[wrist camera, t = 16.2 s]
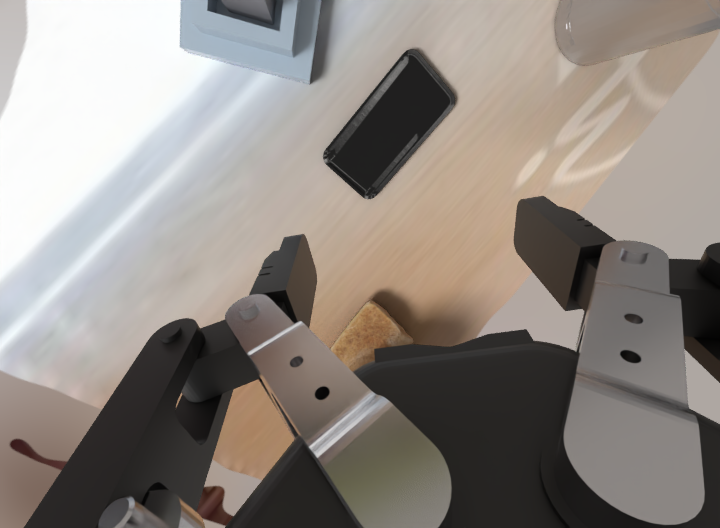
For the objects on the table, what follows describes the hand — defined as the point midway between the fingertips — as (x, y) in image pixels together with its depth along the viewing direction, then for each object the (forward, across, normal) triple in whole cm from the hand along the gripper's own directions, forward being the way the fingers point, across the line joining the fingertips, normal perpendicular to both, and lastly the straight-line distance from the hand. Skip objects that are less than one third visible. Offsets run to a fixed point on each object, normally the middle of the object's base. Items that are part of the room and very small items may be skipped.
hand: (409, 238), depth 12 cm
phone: (+28, -1, +1) cm, 28 cm away
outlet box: (+29, +10, -12) cm, 33 cm away
